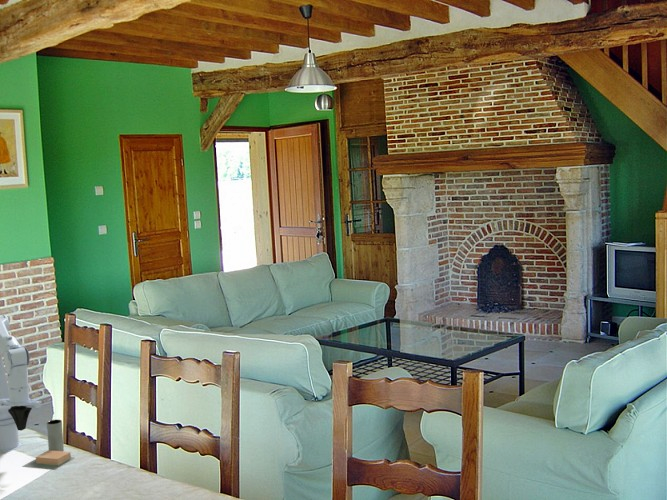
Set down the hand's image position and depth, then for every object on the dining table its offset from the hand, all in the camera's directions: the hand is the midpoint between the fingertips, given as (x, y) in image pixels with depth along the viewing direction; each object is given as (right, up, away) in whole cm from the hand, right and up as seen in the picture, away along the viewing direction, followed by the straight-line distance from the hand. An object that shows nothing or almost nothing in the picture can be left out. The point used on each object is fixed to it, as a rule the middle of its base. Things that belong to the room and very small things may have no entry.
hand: (21, 429), depth 231 cm
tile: (+7, -8, 0) cm, 11 cm away
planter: (+8, -10, +8) cm, 15 cm away
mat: (+9, -10, -1) cm, 14 cm away
